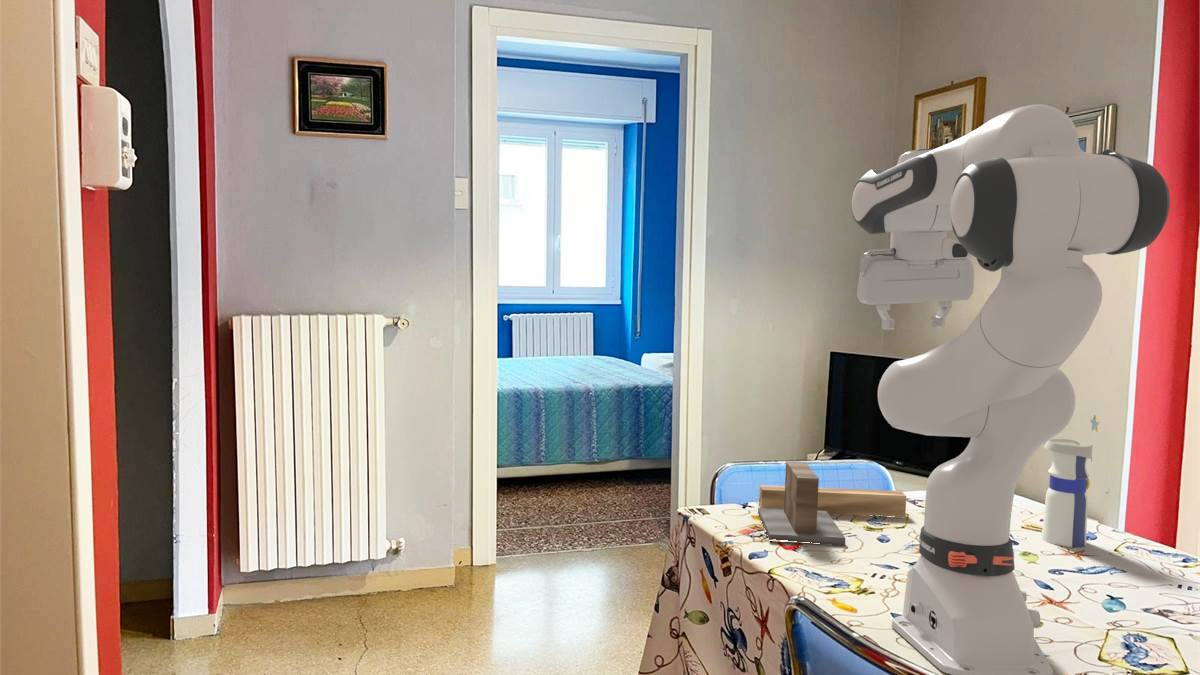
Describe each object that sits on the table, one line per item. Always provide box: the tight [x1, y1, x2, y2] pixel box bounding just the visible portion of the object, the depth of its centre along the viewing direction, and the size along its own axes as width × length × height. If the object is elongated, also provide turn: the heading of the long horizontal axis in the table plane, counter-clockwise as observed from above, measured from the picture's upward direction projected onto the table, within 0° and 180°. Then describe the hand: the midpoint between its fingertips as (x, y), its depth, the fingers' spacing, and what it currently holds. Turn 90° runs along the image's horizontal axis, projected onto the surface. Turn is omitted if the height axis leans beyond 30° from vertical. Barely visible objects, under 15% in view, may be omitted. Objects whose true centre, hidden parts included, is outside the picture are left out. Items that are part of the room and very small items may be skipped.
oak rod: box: [758, 484, 907, 518], centre depth 179 cm, size 4×30×5 cm, turn 86°
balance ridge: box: [757, 461, 846, 546], centre depth 166 cm, size 18×14×12 cm
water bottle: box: [1041, 414, 1100, 548], centre depth 163 cm, size 8×9×25 cm
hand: (912, 328), depth 145 cm, fingers open, 8 cm apart
